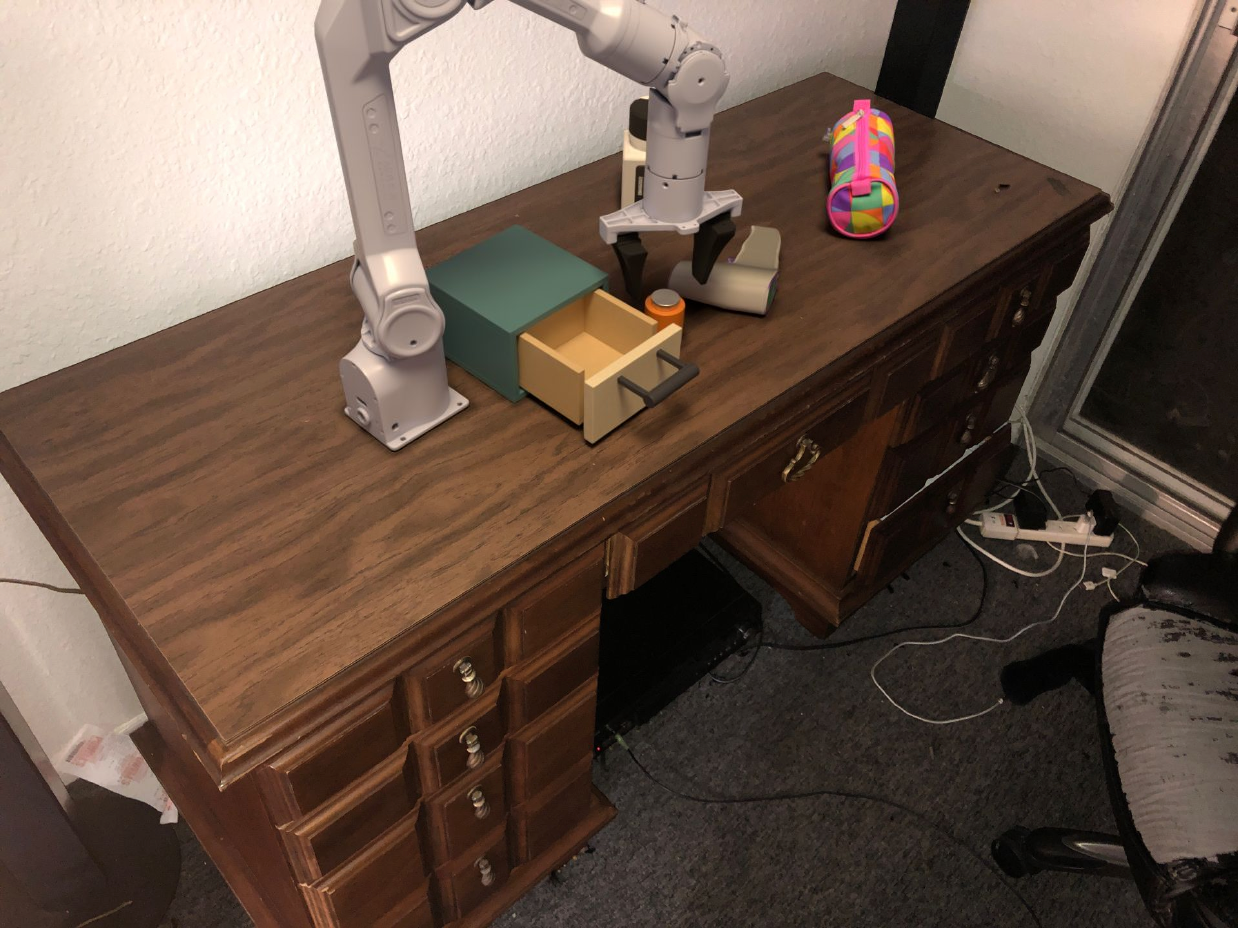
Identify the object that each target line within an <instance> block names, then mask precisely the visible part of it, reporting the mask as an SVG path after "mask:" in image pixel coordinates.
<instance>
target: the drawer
mask: <svg viewBox="0 0 1238 928" xmlns="http://www.w3.org/2000/svg"><path fill="white" fill-rule="evenodd" d="M657 326H658V322H657V321H656V320H654V319H652V318H650V317H649V316H647V315H645V314H644V313H643V312H642V311H640V310H638V309H636V308H634V307H632V306H631V305H629V304H628V303H626V302H624V301H622V300H621V299H619V298H617V297H615V296H613V295H611V294H610V293H609V294H608V293H606V292H604V291H603V290H601V289H599V288H597V289H595V290H593V291H592V292H590V293H588V294H586V295H585V296H583V297H581V298H580V299H578V300H576V301H575V302H573V303H571V304H570V305H568V306H566V307H564V308H563V309H561V310H559V311H558V312H556V313H554V314H553V315H551V316H549V317H548V318H546V319H544V320H542V321H541V322H539V323H537V324H536V325H534V326H532V327H531V328H529V329H527V330H526V331H524V332H522V333H520V334H519V335H517V336H516V343H517V360H518V377H519V386H521V387H522V388H524V389H525V390H527V391H528V392H530V394H531V395H532V396H534V397H535V398H537V399H538V400H540V401H541V402H543V403H545V404H546V405H547V406H549V407H551V408H552V409H554V410H555V411H556V412H557V413H560V414H561V415H563V416H564V417H566V418H567V419H568V420H570V421H571V422H573V423H574V424H576V425H577V426H580V425H582V424H583V439H585V440H586V441H588V442H589V443H591V444H594V443H596V442H597V441H599V440H600V439H601V438H603V437H604V436H606V435H607V434H608V433H610V432H611V431H612V430H614V429H615V428H617V427H619V426H620V425H621V424H623V423H624V422H626V421H627V420H628V419H630V418H631V417H632V416H633V415H635V414H636V413H638V412H639V411H640V410H642V409H644V408H645V407H647V408H649V409H654V408H655V407H656V406H658V405H659V404H660V403H662V402H663V401H665V400H666V399H668V398H669V397H670V396H671V395H673V394H674V393H676V392H678V391H679V390H680V389H681V388H683V387H684V386H685V385H687V384H688V383H690V382H691V381H693V380H694V379H695V378H696V377H698V376H699V375H700V372H701V370H700V368H699V366H698V365H697V363H695V362H693V361H692V362H689V363H686V362H684V361H683V360H681V359H680V356H681V355H680V354H681V345H682V342H681V335H682V336H683V332H682V328H681V327H679V326H678V325H676V324H674V323H672V324H671V325H669V326H668V327H666V328H665V329H663V330H662V331H660V332H659V333H657Z"/></svg>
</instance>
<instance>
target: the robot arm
mask: <svg viewBox="0 0 1238 928" xmlns="http://www.w3.org/2000/svg"><path fill="white" fill-rule="evenodd" d="M494 1H495V0H320V3H319V6H318V9H317V12H316V15H315V19H314V22H313V24H314V25H313V28H314V29H313V31H314V40H315V45H316V50H317V55H318V59H319V64H320V68H321V69H320V70H321V74H322V78H323V83H324V89H325V92H326V98H327V103H328V108H329V112H330V117H331V122H332V127H333V132H334V137H335V143H336V146H337V151H338V157H339V161H340V165H341V166H340V167H341V170H342V175H343V176H342V177H343V180H344V185H345V190H346V195H347V200H348V204H349V209H350V210H349V211H350V214H351V220H352V224H353V230H354V235H355V240H353V241H352V247H353V252H354V253H353V254H354V259H353V260H354V261H353V264H352V267H351V270H350V273H349V285H350V288H351V290H352V293H353V295H354V296H355V298H356V299H357V301H358V302H359V305H360V307H361V309H362V311H363V314H364V317H363V321H362V325H361V329H360V336H361V337H360V339H359V340H358V342H357V344H356V345H355V347H353V348H352V349H351V350H350V351H349V352H348V353H347V354H346V355H345V356H343V357H342V358H341V359H340V360H339V362H338V372H339V377H340V381H341V385H342V389H343V395H344V398H345V404H346V407H345V408H344V415H346V416H347V417H348V418H350V419H351V420H352V421H354V423H356V424H357V425H359V426H360V427H362V428H363V429H364V430H365V431H367V433H369V434H370V435H372V436H373V437H374V438H375V439H377V440H378V441H379V442H380V443H382V444H383V445H384V446H385V447H387V448H389V450H391V451H398V450H400V449H401V448H404V447H405V446H406V445H408V444H410V443H411V442H413V441H414V440H416V439H417V438H419V437H421V436H422V435H424V434H426V433H427V432H429V431H430V430H432V429H433V428H435V427H437V426H438V425H440V424H442V423H444V422H445V421H446V420H448V419H450V418H452V417H453V416H454V415H456V414H457V413H460V412H461V411H463V410H464V409H466V408H467V407H469V406H470V401H469V399H468V398H466V397H465V396H463V395H462V394H460V393H459V392H458V391H456V390H455V389H453V388H452V387H451V386H449V381H448V372H447V365H446V357H445V356H444V348H443V340H442V336H443V333H444V330H445V317H444V314H443V312H442V310H441V309H440V307H439V306H438V305H437V303H436V302H435V301H434V299H433V298H432V296H431V294H430V290H429V283H428V280H427V277H426V274H425V268H424V264H423V261H422V259H421V255H420V252H419V249H418V244H417V239H416V238H417V237H416V233H415V232H416V231H415V225H414V224H415V223H414V218H413V213H412V204H411V200H410V193H409V186H408V180H407V179H408V178H407V172H406V167H405V160H404V155H403V148H402V142H401V141H402V140H401V134H400V128H399V122H398V115H397V109H396V102H395V95H394V90H393V83H392V76H391V70H390V69H391V68H390V63H391V61H392V60H393V59H394V58H395V57H396V56H397V55H398V54H399V53H400V52H401V50H402V49H403V48H404V47H406V46H407V45H408V44H410V43H412V42H414V41H415V40H417V39H418V38H421V37H423V36H424V35H426V34H427V33H429V32H431V31H433V30H435V29H437V28H438V27H440V26H442V25H443V24H445V23H447V22H448V21H450V20H451V19H453V18H454V17H455V16H456V15H457V14H459V13H460V12H461V11H462V10H463V9H464V7H465V6H466V5H467V4H468V5H469V6H470V7H471V8H472V9H473V11H479V10H481V9H483V8H484V7H486V6H487V5H489V4H491V3H493V2H494ZM507 1H508V2H510V3H512V4H514V5H517V6H519V7H520V8H523V9H526V10H527V11H530V12H532V13H534V14H535V15H538V16H540V17H543V18H544V19H546V20H549V21H551V22H553V23H555V24H556V25H559V26H561V27H563V28H566V29H568V30H570V31H572V32H574V34H575V37H576V41H577V45H578V48H579V50H580V52H581V53H582V55H583V56H584V57H586V58H587V59H590V60H591V61H593V62H596V63H598V64H600V65H602V66H603V67H606V68H607V69H610V70H611V71H613V72H615V73H617V74H619V75H621V76H623V77H625V78H627V79H629V80H630V81H632V82H635V83H637V84H639V85H641V86H643V87H649V89H648V95H649V104H648V122H647V140H646V159H645V177H644V196H643V199H642V200H640V201H638V202H636V203H634V204H631V205H629V206H627V207H625V208H623V209H621V208H620V209H619V210H616V211H614V212H612V213H609V214H606V215H601V216H599V221H598V222H599V223H598V225H599V227H598V228H599V232H598V233H599V236H600V237H601V239H602V240H603V242H605V244H606V245H611V248H612V249H613V251H614V253H615V256H616V258H617V261H618V264H619V267H620V271H621V273H622V278H623V282H624V288H625V292H626V294H627V295H628V297H629V298H630V299H631V300H632V302H636V301H640V300H641V298H642V287H643V272H644V268H645V264H646V261H647V258H648V255H649V252H648V250H647V249H646V248H645V246H643V244H642V239H641V238H640V234H644V233H648V232H677V233H678V234H679V235H680V236H687V235H693V249H692V250H693V251H692V259H691V261H692V275H693V277H694V278H695V279H696V280H697V281H698V282H699V284H700V285H704V284H706V283H707V281H708V278H709V276H710V273H711V271H712V269H713V266H714V264H715V262H717V260H718V259H719V257H720V255H721V253H722V252H723V250H724V249H725V247H726V246H727V245H728V244H729V243H730V241H731V240H733V238H735V236H736V232H737V224H736V223H735V222H734V221H733V220H732V219H731V218H736V217H740V216H741V215H742V208H743V201H744V198H743V197H742V196H741V195H740V194H739V193H738V191H736V190H735V189H733V188H732V189H727V190H708V191H707V190H706V191H705V185H706V184H705V183H706V175H707V165H708V157H709V147H710V137H711V127H712V122H713V121H714V117H715V109H716V107H717V104H718V103H719V101H720V100H721V98H723V96H724V94H725V93H726V90H727V89H728V86H729V82H730V79H731V73H728V71H726V60H725V58H724V57H723V53H722V51H721V50H720V49H719V48H718V47H717V46H716V45H715V44H713V43H712V42H711V41H709V40H708V39H707V38H705V37H704V36H703V35H701V34H700V32H699V33H698V32H697V31H696V30H695V29H694V28H692V27H691V26H690V25H689V22H688V20H687V19H685V18H684V17H682V16H681V15H679V14H677V13H676V12H675V13H673V14H672V15H671V17H670V16H669V15H668V14H665V13H664V12H662V11H661V10H659V9H658V8H656V7H654V6H652V5H650V4H649V3H647V2H646V0H507Z"/></svg>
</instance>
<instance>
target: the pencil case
mask: <svg viewBox="0 0 1238 928" xmlns="http://www.w3.org/2000/svg"><path fill="white" fill-rule="evenodd" d="M852 108H853V110H852V111H850V112H849V113H847V114H845V115H844V116H842V117H841V118H839V120H838V121H837V122H836V123H835V124H834V126H833V128H831V127H829V126H827V127H826V129H825V131H824V134H823V136H822V140H821V141H823V142H826V143H828V144H829V161H828V163H829V178H830V184H831V189H830V191H829V192H828V195H827V198H826V203H825V207H826V208H825V209H826V215H827V219H828V221H829V223H830V225H831V226H832V228H833V229H834V230H835V231H836V232H838V233H839V234H841V235H843V236H845V237H848V238H852V239H859V240H860V239H861V240H867V239H871V238H874V237H877V236H879V235H882V234H883V233H886V231H888V230H889V229H890V228H892V226H893V225H894V224H895V222H896V220H897V218H898V214H899V210H900V199H899V198H900V197H899V193H898V189H897V185H896V184H897V183H896V180H895V175H894V174H895V169H896V168H895V165H896V161H895V157H896V156H895V154H896V144H895V134H894V128H893V123H892V120H891V117H890V116H889V115H888V114H887V113H885V112H884V111H882V110H879V109H876V108H871V99H855V100H854V101H853V107H852Z"/></svg>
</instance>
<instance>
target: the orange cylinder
mask: <svg viewBox="0 0 1238 928" xmlns="http://www.w3.org/2000/svg"><path fill="white" fill-rule="evenodd" d="M685 309H686V303H685V300H684V298H683V297H681V296H679V295H678V293H676V292H675V291H673V290H669V289H668V288H659V289H657V290H654V291H653V292H652V293H651V294H650V295H648V296H647V297H646V299H645V300H644V313H643V314H645V315H647V316H649V317H650V318H652V319H654V320H656V321H657V322H658V326H657V333H659V332H660V331H662V330H663V329H665V328H666V327H668V326H669V325H671V324H672V323H674V324H676V325H678V326H679V327H681V328H682V333H683V331H684V320H685V312H686V311H685ZM682 341H683V334H682V335H681V343H682Z"/></svg>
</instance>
